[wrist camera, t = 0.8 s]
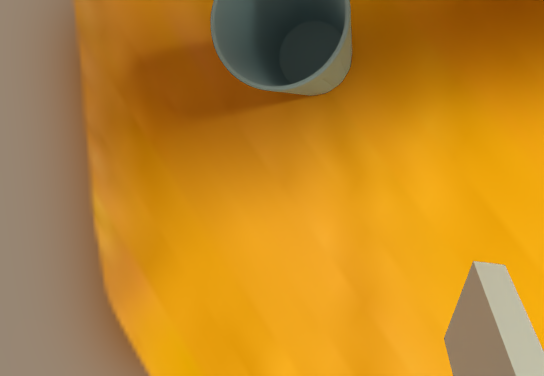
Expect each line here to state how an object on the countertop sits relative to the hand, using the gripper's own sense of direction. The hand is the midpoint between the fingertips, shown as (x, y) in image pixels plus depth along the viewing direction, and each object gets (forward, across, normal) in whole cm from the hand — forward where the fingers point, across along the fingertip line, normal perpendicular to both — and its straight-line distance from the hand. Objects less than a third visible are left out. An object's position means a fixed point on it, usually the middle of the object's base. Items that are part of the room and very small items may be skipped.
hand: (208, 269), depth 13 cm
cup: (+27, +2, -3) cm, 27 cm away
